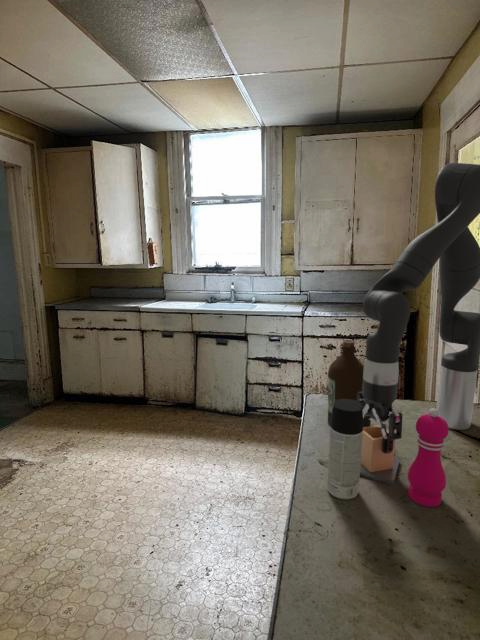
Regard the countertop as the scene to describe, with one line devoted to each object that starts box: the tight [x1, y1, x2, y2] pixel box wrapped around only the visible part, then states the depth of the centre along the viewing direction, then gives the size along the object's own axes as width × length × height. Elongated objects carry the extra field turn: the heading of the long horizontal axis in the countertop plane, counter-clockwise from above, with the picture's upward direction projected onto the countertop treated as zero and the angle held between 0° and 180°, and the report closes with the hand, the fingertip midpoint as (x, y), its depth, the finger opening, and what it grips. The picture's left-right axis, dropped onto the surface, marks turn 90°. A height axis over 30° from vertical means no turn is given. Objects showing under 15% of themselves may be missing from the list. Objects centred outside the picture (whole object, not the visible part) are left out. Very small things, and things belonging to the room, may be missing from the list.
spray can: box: [326, 399, 364, 500], centre depth 83 cm, size 7×7×20 cm
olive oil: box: [327, 339, 364, 426], centre depth 114 cm, size 11×11×25 cm
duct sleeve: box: [361, 424, 396, 472], centre depth 93 cm, size 6×6×8 cm
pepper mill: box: [407, 407, 450, 508], centre depth 81 cm, size 7×7×20 cm
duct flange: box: [360, 437, 400, 485], centre depth 94 cm, size 10×10×7 cm
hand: (375, 443), depth 93 cm, fingers open, 8 cm apart
